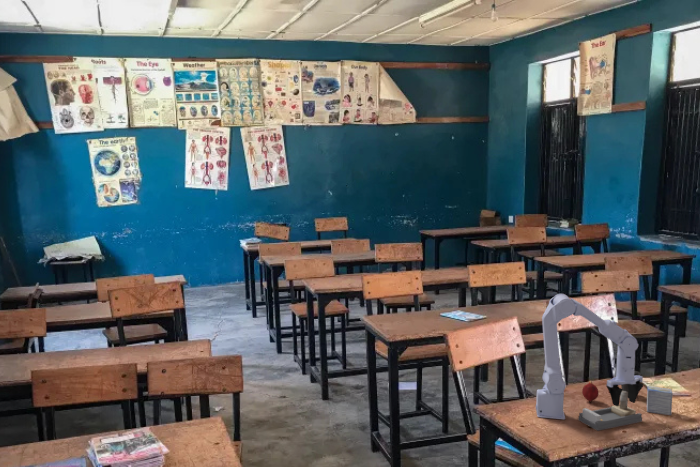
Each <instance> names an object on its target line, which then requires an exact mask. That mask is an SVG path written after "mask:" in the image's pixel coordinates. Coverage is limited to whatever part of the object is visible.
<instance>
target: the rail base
mask: <svg viewBox="0 0 700 467" xmlns="http://www.w3.org/2000/svg"><path fill="white" fill-rule="evenodd" d="M611 409H612V406H609V407H604V408H599V409H595V410H594V409H593V410H590V409H589V408H586V407H585V408H582V412H579V414H578V421H579V422H581V423H583V424H585V425H586V426H588V427H590V428H592V429H594V430H595V431H602V430H607V429H612V428H618V427H622V426H627V425H633V424H636V423H642V422H643V417H642V416H643V414H642V413H640V412H638V413H637V412H636V414H632V415H627V416H622V417H621V416H619V415H617V414H615V413H613V412H611Z"/></svg>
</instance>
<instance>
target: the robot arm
mask: <svg viewBox="0 0 700 467" xmlns="http://www.w3.org/2000/svg"><path fill="white" fill-rule="evenodd" d="M572 315H573V316H574V317H580V316H581V317H583V318H584V319H585V320H587V321H589V322H591V323H592V324H593V325H594V326H596V327H597V328H598V332H599V333H600V334H601V335H602V336H604V337H605V338H607V339H608V340H610V341H611V342H612V343H614V344H616V345H617V351H616V352H617V353H616V372H615V375H616V376H614V377H613V378H611V379H607V380H606V388H607V390H608V392H609V395H610V397H611V402H612V406H619V405H620V395H621V392H622V390H623V389H622V388H620V386H621V385H623V384H627V385H628V390H629V398H628V402H630V403H632V404H634V403H636V401H637V398H638V395H639V393H640V392H641V390H642V389H643V387H644V384H643V382H644V381H643V380H644V379H643V375H642V376H639V375H635V376H634V371H635V366H636V351H637V350H638V347H639V343H638V340H637V338H636V337H634V336H633V335H632V334H631V333H629V331H628V330H627V329H625V328H624V329H623V328H622V327H621V326H619V325H618V324H617V321H615V320H614V319H613V320H611V319H603V318H601V317H600V316H599V315H597V314H596V313H595V312H593V311H592V310H590V309H589V308H588V307H587V306H585V305H584V304H583V303H582V302H579V301H577V300H576V299H574V298H572V297H570V296H568V295H566V293H565V294H564V293H558V294H555V295H554V296H553V297H552V298H551V299H549V301H548V304H547V307H546V308H545V310H544V313H543V314H542V316H541V320H542V321H541V323H542V334H543V348H544V350H543V351H544V360H545V361H544V363H545V364H544V367H543V368H544V370H543V374H542V381H543V383H544V385H543V387H542V388H541V389H539V388H538V389H537V390H536V398H535V400H536V404H535V410H536V416H537V417H538V418H545V419H555V420H556V419H557V420H566V415H565V413H564V412H565V411H564V399H565V395H564V392H565V389H566V383H565V381H564V379H563V374H562V370H561V366H560V350H559V336H558V323H560V322H561V321H562V320H563V319H566V318H568V317H571V316H572Z"/></svg>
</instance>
